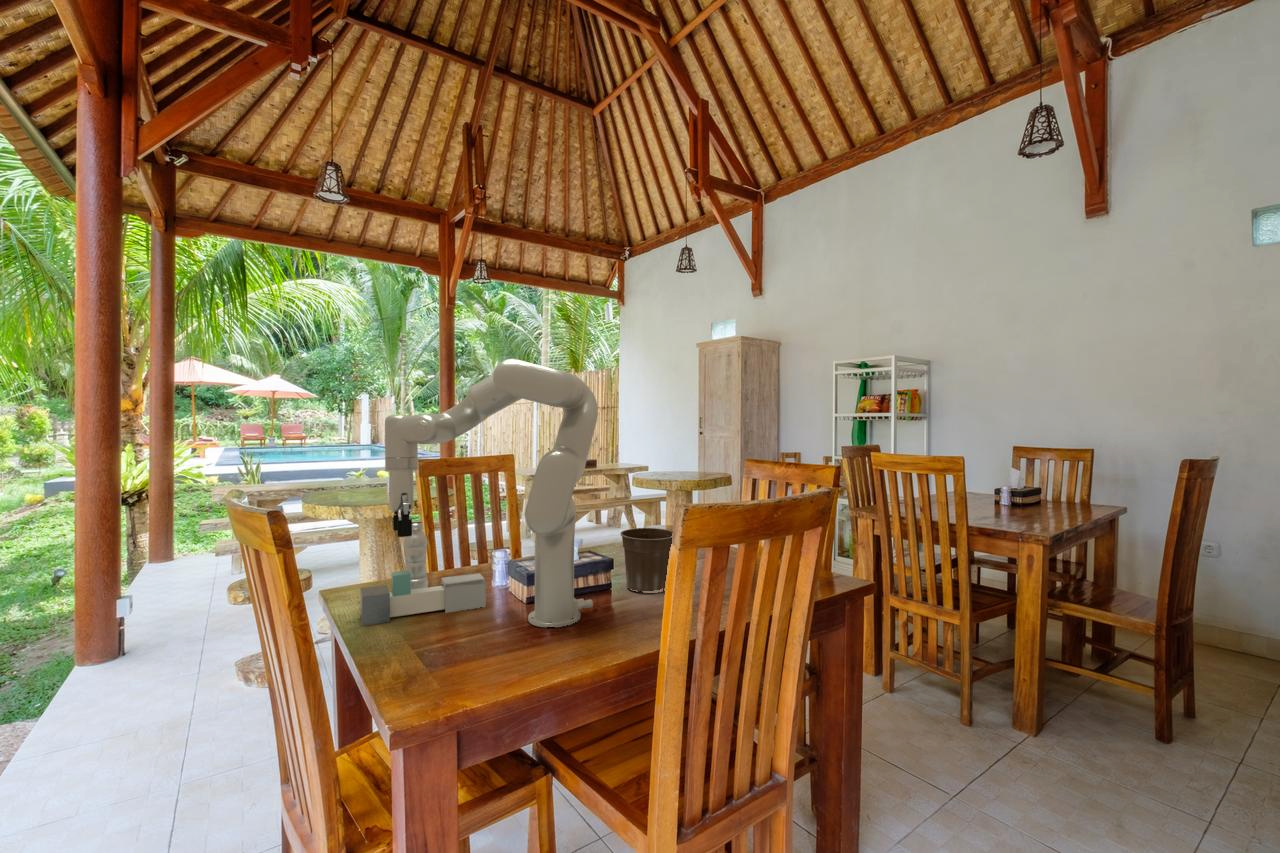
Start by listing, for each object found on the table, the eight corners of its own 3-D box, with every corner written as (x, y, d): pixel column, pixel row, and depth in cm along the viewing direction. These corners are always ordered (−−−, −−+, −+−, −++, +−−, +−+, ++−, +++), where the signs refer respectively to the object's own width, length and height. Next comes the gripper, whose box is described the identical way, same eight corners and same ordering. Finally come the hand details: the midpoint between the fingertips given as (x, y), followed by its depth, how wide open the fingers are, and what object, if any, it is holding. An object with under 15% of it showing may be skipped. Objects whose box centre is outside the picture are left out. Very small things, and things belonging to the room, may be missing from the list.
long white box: (449, 603, 150) (449, 565, 150) (452, 608, 146) (452, 569, 146) (367, 615, 141) (367, 575, 141) (368, 620, 137) (368, 578, 137)
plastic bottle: (432, 590, 163) (432, 520, 163) (421, 598, 156) (421, 525, 156) (411, 590, 164) (410, 520, 164) (398, 597, 157) (398, 524, 157)
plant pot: (687, 591, 163) (687, 534, 163) (639, 600, 155) (639, 540, 154) (656, 577, 177) (656, 525, 177) (610, 585, 168) (610, 531, 168)
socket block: (386, 612, 145) (386, 584, 144) (389, 622, 138) (389, 593, 137) (360, 616, 142) (360, 588, 142) (362, 626, 135) (362, 596, 135)
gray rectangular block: (479, 599, 155) (479, 573, 155) (485, 607, 149) (485, 579, 149) (440, 605, 150) (440, 577, 150) (445, 613, 144) (445, 584, 144)
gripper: (382, 463, 148) (383, 529, 148) (388, 467, 133) (389, 540, 133) (413, 462, 152) (414, 526, 152) (422, 465, 137) (423, 537, 137)
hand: (402, 533), depth 142 cm, fingers open, 9 cm apart
